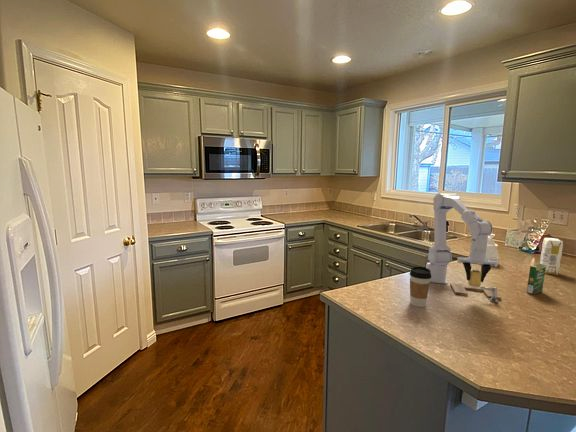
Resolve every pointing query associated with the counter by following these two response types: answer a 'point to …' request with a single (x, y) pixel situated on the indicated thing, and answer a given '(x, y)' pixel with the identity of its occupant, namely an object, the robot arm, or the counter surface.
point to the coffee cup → (419, 285)
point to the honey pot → (491, 249)
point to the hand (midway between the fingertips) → (474, 280)
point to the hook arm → (494, 292)
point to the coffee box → (536, 279)
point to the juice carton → (551, 255)
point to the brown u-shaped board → (461, 290)
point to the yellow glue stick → (475, 278)
